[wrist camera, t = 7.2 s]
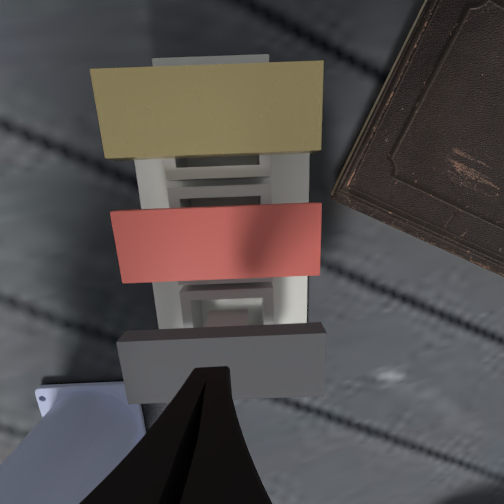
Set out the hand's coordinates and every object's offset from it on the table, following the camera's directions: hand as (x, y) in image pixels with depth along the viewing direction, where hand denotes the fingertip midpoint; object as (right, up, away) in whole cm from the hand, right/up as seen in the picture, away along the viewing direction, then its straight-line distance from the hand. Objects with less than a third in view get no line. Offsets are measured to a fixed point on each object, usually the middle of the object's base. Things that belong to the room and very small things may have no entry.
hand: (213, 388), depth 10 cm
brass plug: (0, +13, +5) cm, 14 cm away
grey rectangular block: (0, 0, +7) cm, 7 cm away
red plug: (0, +7, +7) cm, 9 cm away
